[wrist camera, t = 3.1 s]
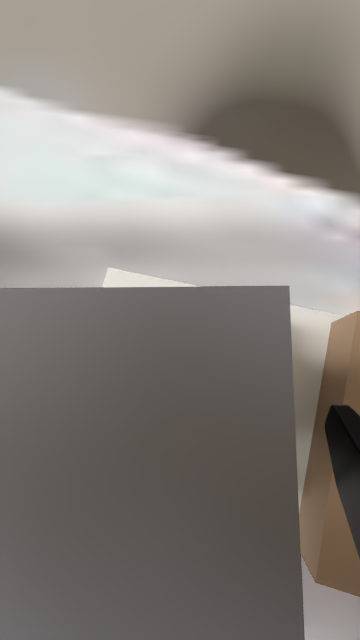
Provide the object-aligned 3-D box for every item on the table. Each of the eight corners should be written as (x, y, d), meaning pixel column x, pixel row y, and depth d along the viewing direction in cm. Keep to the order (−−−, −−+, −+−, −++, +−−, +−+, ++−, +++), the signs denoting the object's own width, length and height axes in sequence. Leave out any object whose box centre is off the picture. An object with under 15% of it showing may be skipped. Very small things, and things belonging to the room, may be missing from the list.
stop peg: (230, 438, 16) (307, 698, 3) (147, 434, 16) (-81, 649, 4) (229, 353, 17) (289, 285, 4) (150, 352, 17) (-29, 289, 4)
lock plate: (633, 380, 15) (778, 382, 11) (629, 647, 14) (799, 758, 10) (113, 272, 19) (88, 246, 15) (57, 469, 17) (12, 496, 14)
